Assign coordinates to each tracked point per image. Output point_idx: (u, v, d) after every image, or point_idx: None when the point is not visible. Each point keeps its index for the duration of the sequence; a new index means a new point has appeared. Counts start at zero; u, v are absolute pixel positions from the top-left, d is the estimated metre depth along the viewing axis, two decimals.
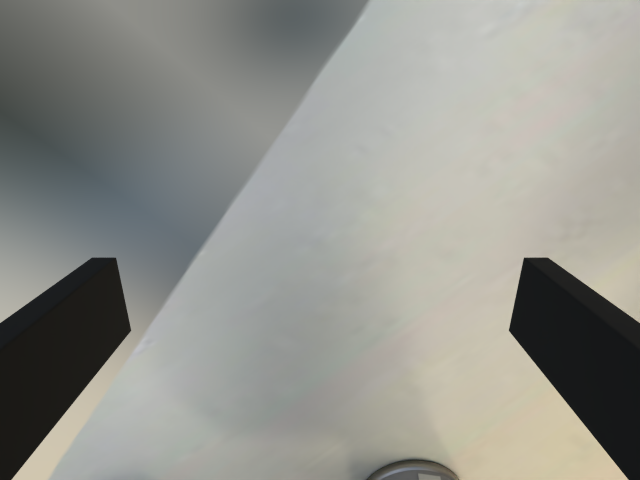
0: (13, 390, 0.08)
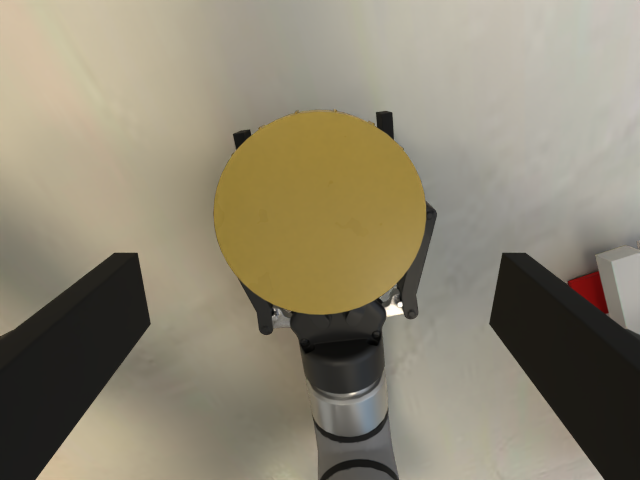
0: (49, 377, 0.08)
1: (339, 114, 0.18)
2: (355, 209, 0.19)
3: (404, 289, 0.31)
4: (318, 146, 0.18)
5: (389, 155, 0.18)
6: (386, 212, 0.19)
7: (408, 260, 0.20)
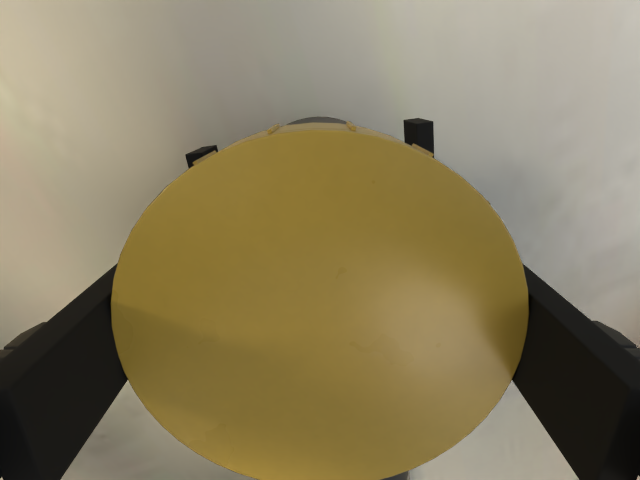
0: (82, 366, 0.09)
1: (362, 136, 0.08)
2: (390, 319, 0.10)
3: None
4: (317, 202, 0.09)
5: (464, 219, 0.09)
6: (450, 324, 0.10)
7: (486, 405, 0.11)
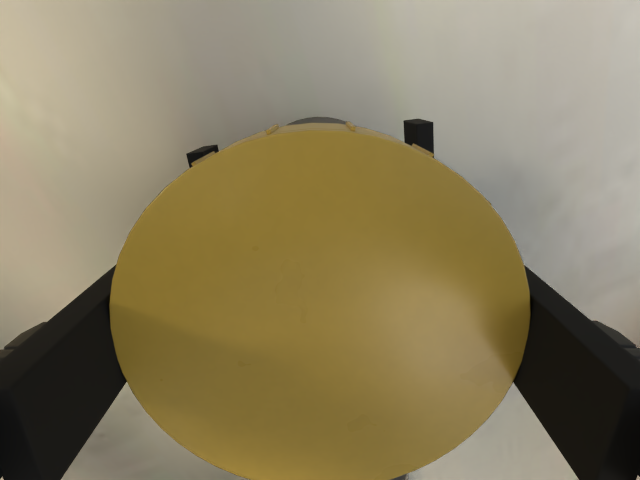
0: (83, 366, 0.09)
1: (140, 400, 0.11)
2: (258, 305, 0.10)
3: None
4: (202, 405, 0.11)
5: (135, 305, 0.10)
6: (227, 252, 0.09)
7: (293, 144, 0.08)
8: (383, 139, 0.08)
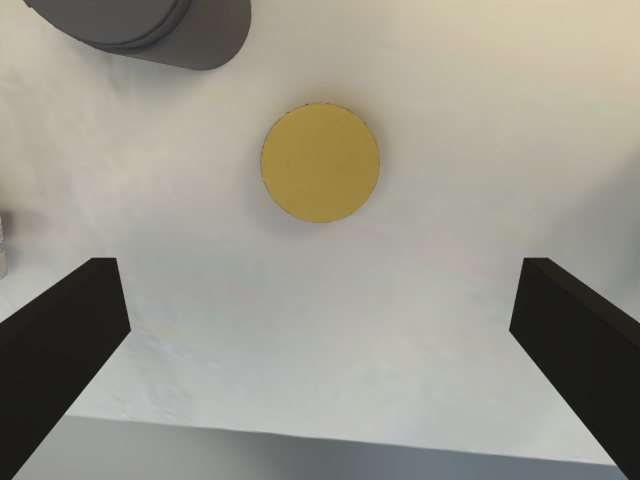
0: (13, 390, 0.08)
1: (330, 105, 0.33)
2: (339, 158, 0.35)
3: None
4: (319, 122, 0.34)
5: (357, 127, 0.34)
6: (357, 159, 0.35)
7: (370, 188, 0.36)
8: (360, 206, 0.36)
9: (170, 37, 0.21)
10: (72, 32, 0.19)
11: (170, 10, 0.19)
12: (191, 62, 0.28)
